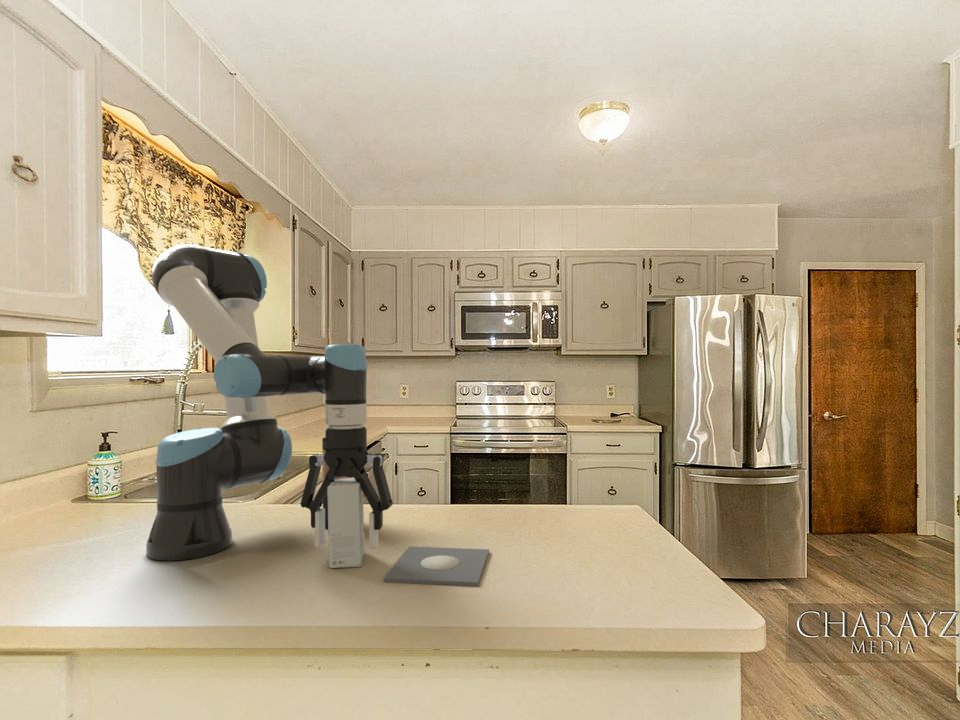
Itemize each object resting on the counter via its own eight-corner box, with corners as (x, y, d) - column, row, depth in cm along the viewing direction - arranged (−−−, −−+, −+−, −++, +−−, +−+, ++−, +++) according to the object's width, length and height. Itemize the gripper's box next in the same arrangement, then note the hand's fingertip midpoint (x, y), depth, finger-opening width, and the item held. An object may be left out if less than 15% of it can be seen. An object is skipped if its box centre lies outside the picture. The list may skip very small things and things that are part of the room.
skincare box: (361, 567, 97) (360, 484, 97) (326, 569, 96) (326, 486, 96) (364, 551, 105) (364, 475, 105) (333, 553, 104) (332, 476, 104)
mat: (383, 581, 90) (383, 577, 90) (408, 549, 106) (408, 545, 106) (477, 586, 88) (477, 581, 88) (489, 552, 104) (489, 548, 104)
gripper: (280, 428, 99) (280, 550, 98) (398, 429, 96) (399, 555, 95) (299, 423, 106) (299, 537, 106) (409, 424, 103) (410, 541, 103)
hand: (346, 545), depth 101 cm, fingers open, 10 cm apart
